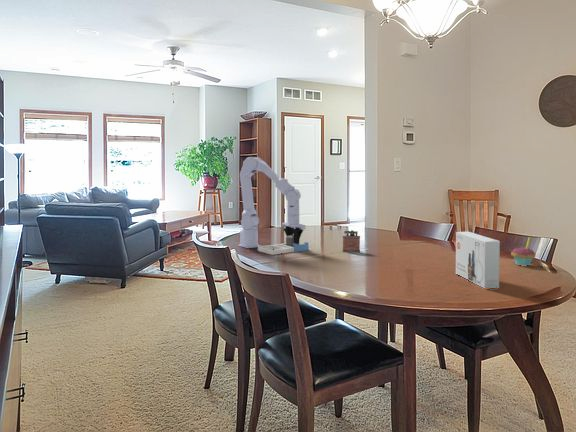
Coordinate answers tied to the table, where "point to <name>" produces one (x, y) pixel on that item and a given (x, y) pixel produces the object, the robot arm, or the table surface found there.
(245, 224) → the robot arm
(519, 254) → the cupcake
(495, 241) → the skincare box
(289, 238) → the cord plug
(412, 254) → the table surface
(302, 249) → the white cubby shelf
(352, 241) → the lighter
